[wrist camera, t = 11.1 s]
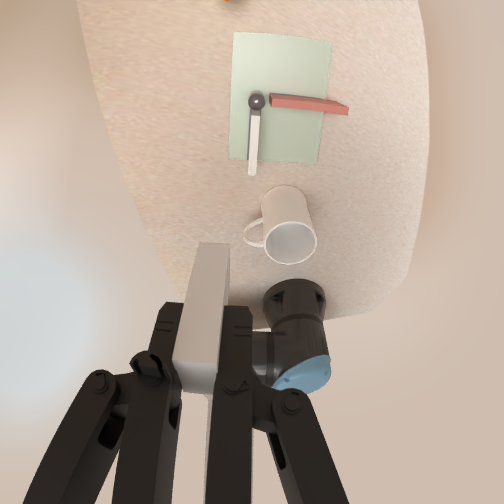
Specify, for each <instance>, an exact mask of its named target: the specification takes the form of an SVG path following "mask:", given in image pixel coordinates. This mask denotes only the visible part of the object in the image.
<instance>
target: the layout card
mask: <svg viewBox="0 0 504 504" xmlns="http://www.w3.org/2000/svg"><path fill="white" fill-rule="evenodd" d="M331 47H332V42H328V41H322V40H317V39H311V38H304V37H297V36H289V35H279V34H268V33H252V32H234V39H233V56H232V76H231V98H230V124H229V157H228V159H236V160H249V145H250V128H251V112H252V109H251V108H250V107H249V105H248V100H249V95H250V93H251V92H252V91H255V90H257V91H260V92H261V93H262V94H263V96H264V99H265V106H264V107H263V108H262V109H261V110H260V126H259V141H258V155H257V161H271V162H284V163H296V164H306V165H317V158H318V152H319V145H320V138H321V132H322V124H323V117H324V112H320V111H311V110H302V109H292V108H279V107H271V104H270V102H269V94H274V95H287V96H298V97H307V98H316V99H323V100H326V94H327V85H328V76H329V67H330V57H331Z"/></svg>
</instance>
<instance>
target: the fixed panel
mask: <svg viewBox="0 0 504 504" xmlns="http://www.w3.org/2000/svg"><path fill="white" fill-rule="evenodd" d="M259 126H260V110H253V109H252V112H251V128H250V145H249V163H248V175H251V176H256V169H257V155H258V141H259Z"/></svg>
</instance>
